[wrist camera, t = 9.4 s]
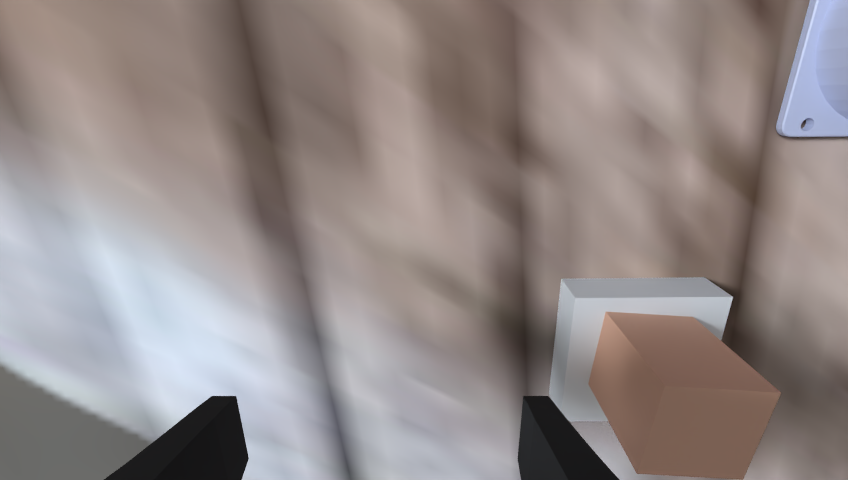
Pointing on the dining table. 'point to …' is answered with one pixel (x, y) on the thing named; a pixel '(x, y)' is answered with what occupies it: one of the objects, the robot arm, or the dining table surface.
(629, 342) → the column block
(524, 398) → the robot arm
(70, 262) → the dining table surface
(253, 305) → the dining table surface
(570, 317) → the foundation slab
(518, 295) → the dining table surface
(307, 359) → the dining table surface
